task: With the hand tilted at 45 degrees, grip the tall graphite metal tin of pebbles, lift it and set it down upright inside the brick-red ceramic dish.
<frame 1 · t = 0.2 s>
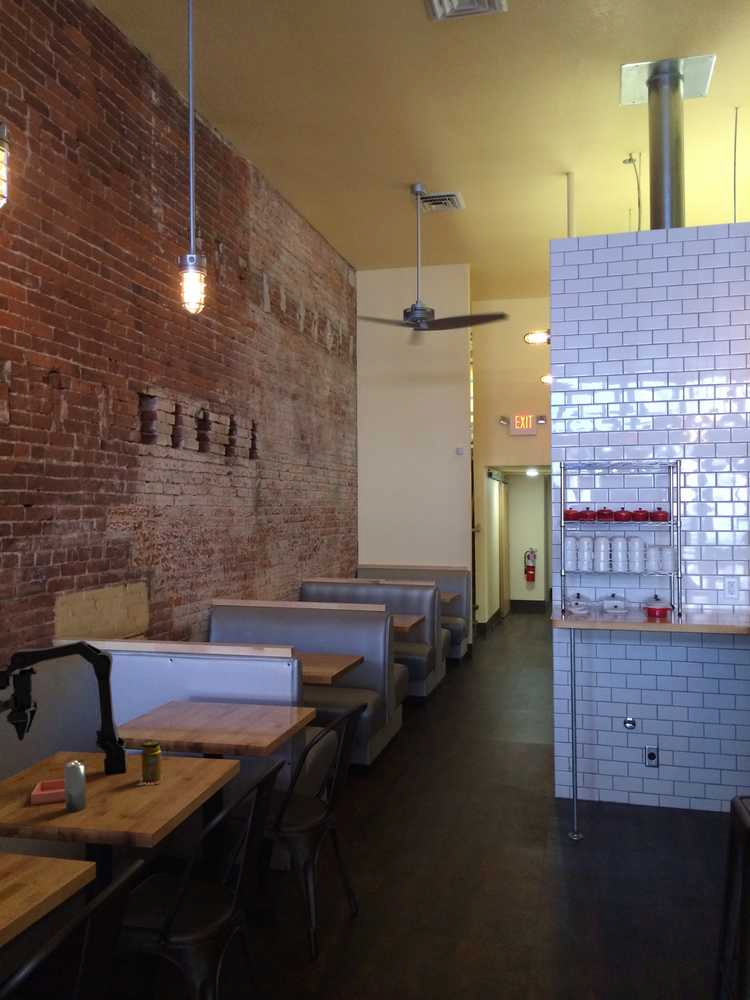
hand: (24, 736, 255), 15 cm above the table, tool pointing down, fingers open, 9 cm apart
pebble tin: (76, 808, 229), on the table
dish: (55, 795, 240), on the table
condiment: (151, 781, 250), on the table
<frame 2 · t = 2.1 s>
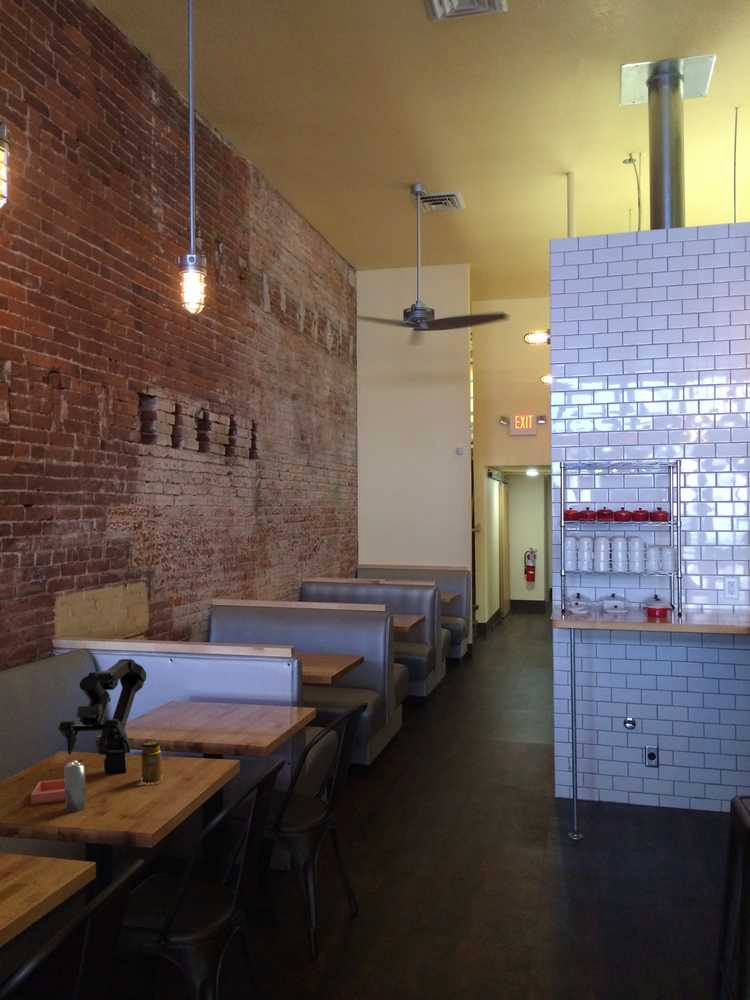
hand: (83, 753, 237), 13 cm above the table, tool tilted 45°, fingers open, 9 cm apart
nothing on the table moved.
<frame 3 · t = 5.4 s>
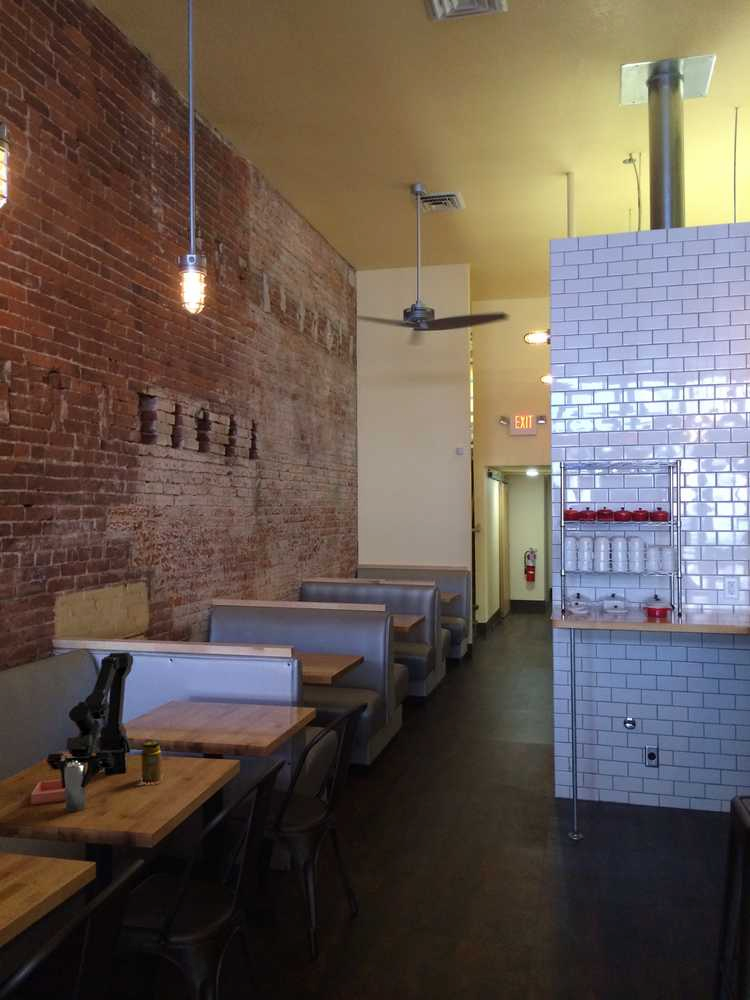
hand: (73, 787, 228), 7 cm above the table, tool tilted 45°, fingers closed on pebble tin, 6 cm apart
pebble tin: (76, 808, 229), on the table, touching gripper
everything else where it was.
when the fingers open (9 cm above the table, at t = 10.3 s): pebble tin drops 1 cm, resting on dish.
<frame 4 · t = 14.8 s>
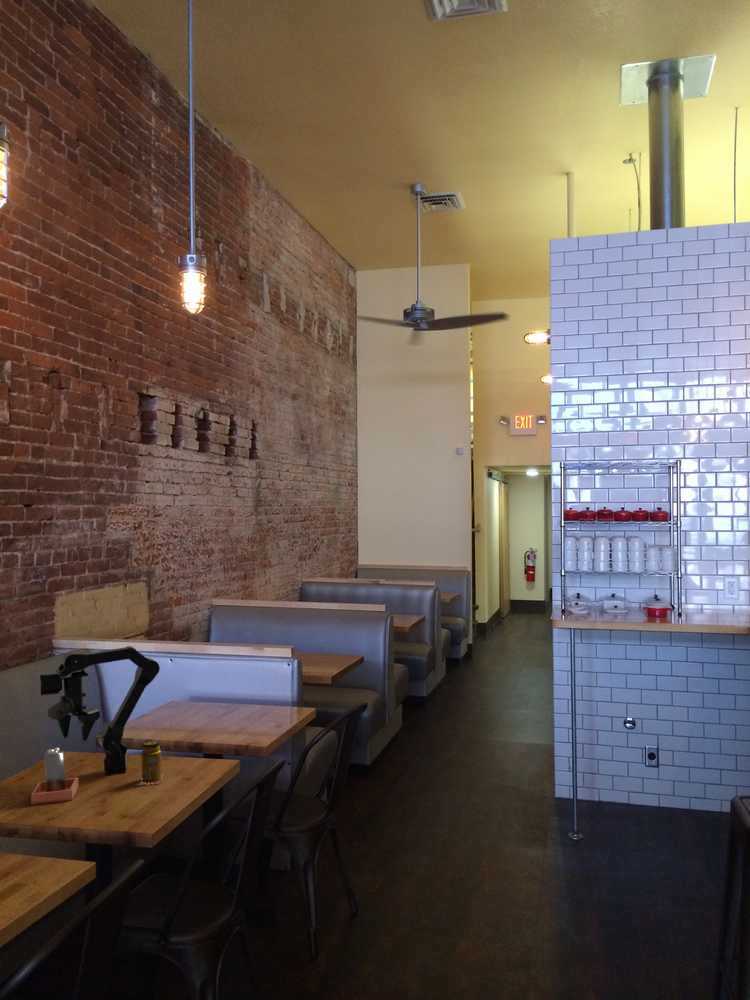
hand: (75, 739, 255), 13 cm above the table, tool pointing down, fingers open, 9 cm apart
pebble tin: (55, 793, 241), point 1 cm above the table, touching dish
everything else where it was.
at the end: pebble tin 0.1 cm off-centre on the dish, point 0.6 cm above the dish's base; pebble tin tilted 0°; the gripper is holding nothing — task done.
